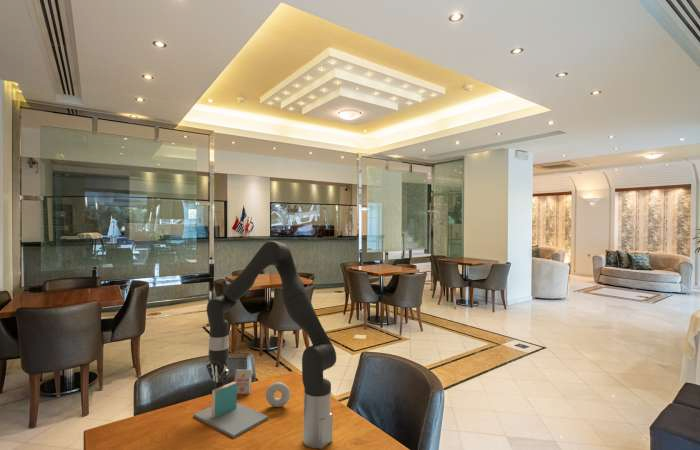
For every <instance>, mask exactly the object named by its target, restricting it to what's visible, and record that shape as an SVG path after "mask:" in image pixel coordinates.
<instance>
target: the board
mask: <svg viewBox="0 0 700 450" xmlns="http://www.w3.org/2000/svg"><path fill="white" fill-rule="evenodd" d="M193 418H195V419H197V420H198V421H201V422H203V423H204V424H207V425H208V426H210V427H212V428H214V429H216V430H217V431H219V432H222V433H223V434H225V435H228V436H229V437H231V438H233V439H235V438H237V437H238V436H241V435H242V434H244V433H246V432H247V431H249V430H251V429H253V428H255V427H256V426H258V425H261V424H262V423H263V422H265V421H267V420H269V415H266V414H264V413H261V412H259V411H257V410H255V409H252V408H250V407H248V406H246V405H243V404H242V403H239V402H237V407H236V408H235V409H233V410H231V411H229V412H227V413H225V414H222V415H220V416H218V417H216V418H213V417H212V405H211V406H208V407H206V408H205V409H202V410H199V411H197V412H196V413H194V414H193Z"/></svg>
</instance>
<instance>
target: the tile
mask: <svg viewBox="0 0 700 450" xmlns="http://www.w3.org/2000/svg"><path fill="white" fill-rule="evenodd" d="M211 392H212V393H211V406H212V417H213V418H216V417H218V416H220V415H222V414H225V413H227V412H229V411H231V410H233V409H235V408H236V407H237V403H238V402H237V400H238V399H237V397H238V394H237V383H236V382H234V381H232V382H230V383H227V384H223V385H222V386H221V387H219V388H217V389H212V390H211Z"/></svg>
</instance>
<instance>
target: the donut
mask: <svg viewBox="0 0 700 450" xmlns="http://www.w3.org/2000/svg"><path fill="white" fill-rule="evenodd" d="M276 392H280V393H281V396H280V397H276V396H275V393H276ZM290 397H291V391H290V387H289V386H288V385H287V384H285V383H284V382H281V381H277V382H273V383H271V384H270V385H269V386H268V387H267V389H266V392H265V399H266V401H267V403H268V404H269V405H271V407H274V408H282V407H284V406H286V404H287V403H288V402H289V401H290Z"/></svg>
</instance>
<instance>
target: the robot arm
mask: <svg viewBox="0 0 700 450" xmlns="http://www.w3.org/2000/svg"><path fill="white" fill-rule="evenodd" d="M269 266H274V267H275V268H276V271H277V272H278V275H279V277H280V281H281V297H282V301H283V304H284V307H285V309H286V311H287V314H288V316H289V318H290V319H291V320H292V321H293V322H294V323H295V324H296V325H297V326H299V327H300V328H301V329H302V330H303V331H304V332H305V334H306V335H307V336H308V338H309V340H310V342H311V344H312V345H310V346H308V347H306V348H305V349H304V350H303V353H302V357H301V371H302V372H301V373H302V374H301V376H302V384H303V387H304V389H303V390H304V394H303V397H304V398H303V427H302V428H303V429H302V433H303V434H302V439H303V440H302V441H303V444H304V445H305V446H306V447H308V448H312V449H320V450H322V449H323V448H325V447H326V446H327V445H328V444H330V443H332V442H333V418H334V417H333V416H334V415H333V413H331V408H332V407H331V405H332V404H331V401H332V399H331V398H332V397H331V396H332V383H331V381H330V380H329V379H327V378H324V371H326V370H328V369H330V368H332V367H334V366H335V364H336V362H337V352H336V349H335V347H334V345H333V343H332V342H331V340H330V338H329V336H328V334H327V332H326V331H325V329H324V327H323V325H322V324H321V322H320V318H319V317H318V316H317V313H316V311H315V309H314V307H313V304H312V300H311V299H310V297H309V294H308V292H307V290H306V288H305V286H304V284H303V281H302V279H301V276H300V275H299V272H298V271H297V267H296V264H295V261H294V259H293V255H292V251H291V250H290V248H289V246H288V245H287V244H286V243H284V242H280V241H275V240H269V241H266V242H265V243H264V244H262V246H261V247H260V248H259V249H258V250H257V252H256V253H255V255H254V256H253V258H252V259H251V260H250V261H249V262H248V264H247V265H246V266H245V267H244V269H243V270H242V271H241V272H240V273H239V274H238V276H236V277H235V278H234V279H233V280H232V281H231V282H230V283H229V284H228V285H227V286H226V287H225V289H224V292H223V293H222V294H221V295H219V296H215V297H212V298H211V299H209V301H208V302H207V306H206V315H207V319H208V323H209V339H208V360H209V361H210V362H209V363H207V364H206V365H205V366H206V369H207V372H208V374H209V377H210V379H212V380H213V382H214V384H213V385H214V386H213V388H214V389H217V388H219V387H221V386H223V381H225V380H227V378H228V376H229V375H230V373H231V372H232V370H231V368H229V369H228V367H227V366H228V363H227V360H228V359H229V355H230V354H229V352H230V351H229V350H230V349H229V348H230V339H229V328H230V327H229V321H228V320H227V319H225V318H224V314H226V313H228V312H229V311H231V310H232V309H233V308H234V306H235V305H236V304H237V302H238V301H239V300H240V299H241V298H242V297H243V296H245V294H246V293H247V292H248V291H250V290H251V288H253V285H254V284H255V281H256V280H257V278H258V276H259V274H260V273H261V272H263V271H264V270H265V269H266V268H267V267H269ZM214 389H213V390H214Z"/></svg>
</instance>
